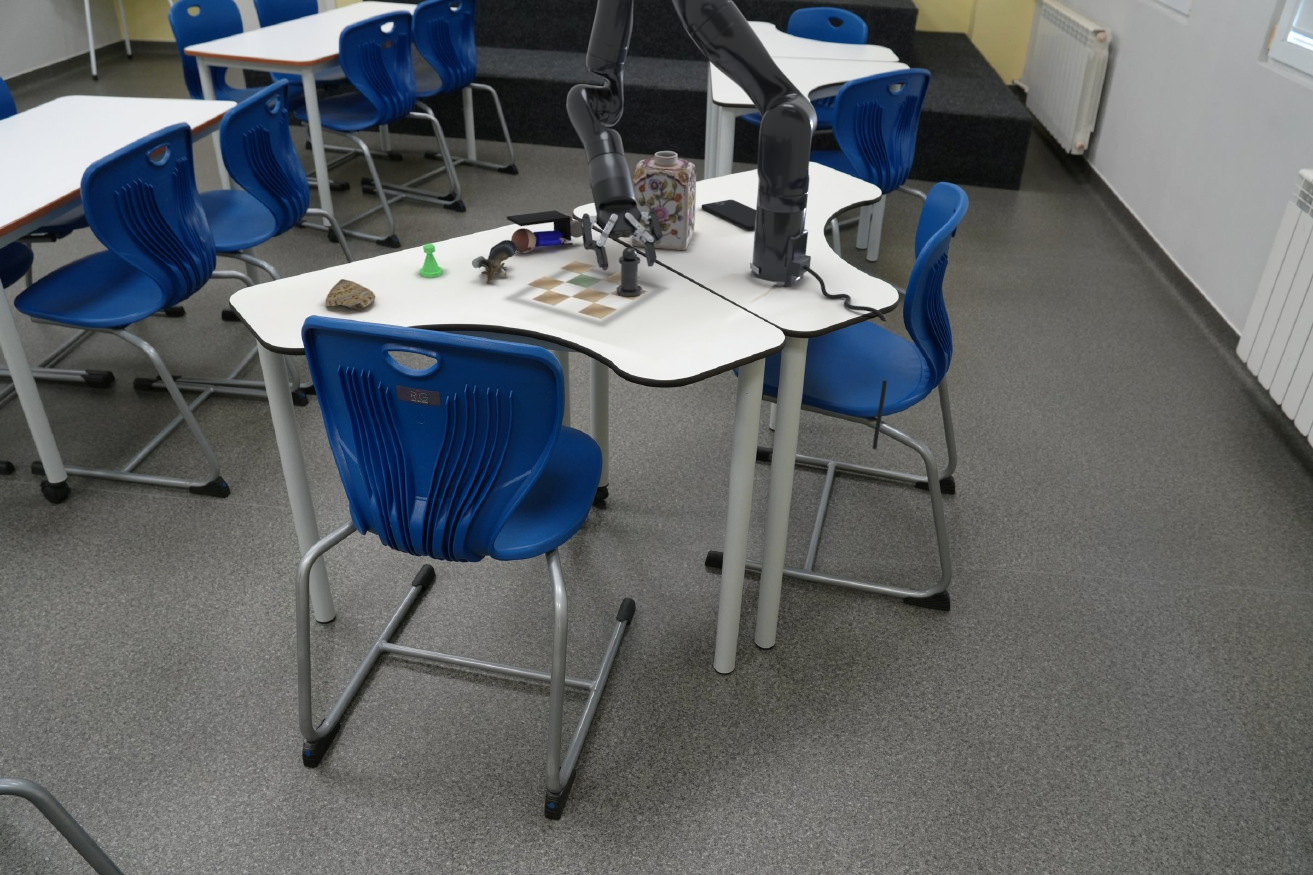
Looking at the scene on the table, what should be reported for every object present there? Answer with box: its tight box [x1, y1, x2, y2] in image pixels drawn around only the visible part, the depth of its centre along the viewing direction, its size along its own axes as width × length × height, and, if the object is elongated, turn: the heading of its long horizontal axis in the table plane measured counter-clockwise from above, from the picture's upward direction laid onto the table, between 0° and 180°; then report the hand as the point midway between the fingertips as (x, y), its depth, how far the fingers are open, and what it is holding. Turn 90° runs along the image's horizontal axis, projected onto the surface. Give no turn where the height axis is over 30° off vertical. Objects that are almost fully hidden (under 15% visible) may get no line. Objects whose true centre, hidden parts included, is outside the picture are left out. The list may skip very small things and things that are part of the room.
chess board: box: [527, 260, 649, 320], centre depth 179 cm, size 20×20×1 cm
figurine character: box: [506, 209, 583, 254], centre depth 198 cm, size 7×8×15 cm
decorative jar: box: [631, 150, 698, 251], centre depth 200 cm, size 12×12×18 cm
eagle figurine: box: [471, 239, 517, 285], centre depth 184 cm, size 8×7×9 cm
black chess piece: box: [616, 246, 643, 298], centre depth 175 cm, size 5×5×8 cm
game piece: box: [419, 242, 444, 279], centre depth 184 cm, size 4×4×6 cm
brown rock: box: [325, 278, 377, 310], centre depth 171 cm, size 8×6×8 cm
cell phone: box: [701, 199, 756, 231], centre depth 219 cm, size 9×18×1 cm, turn 33°
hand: (628, 266), depth 174 cm, fingers open, 8 cm apart
